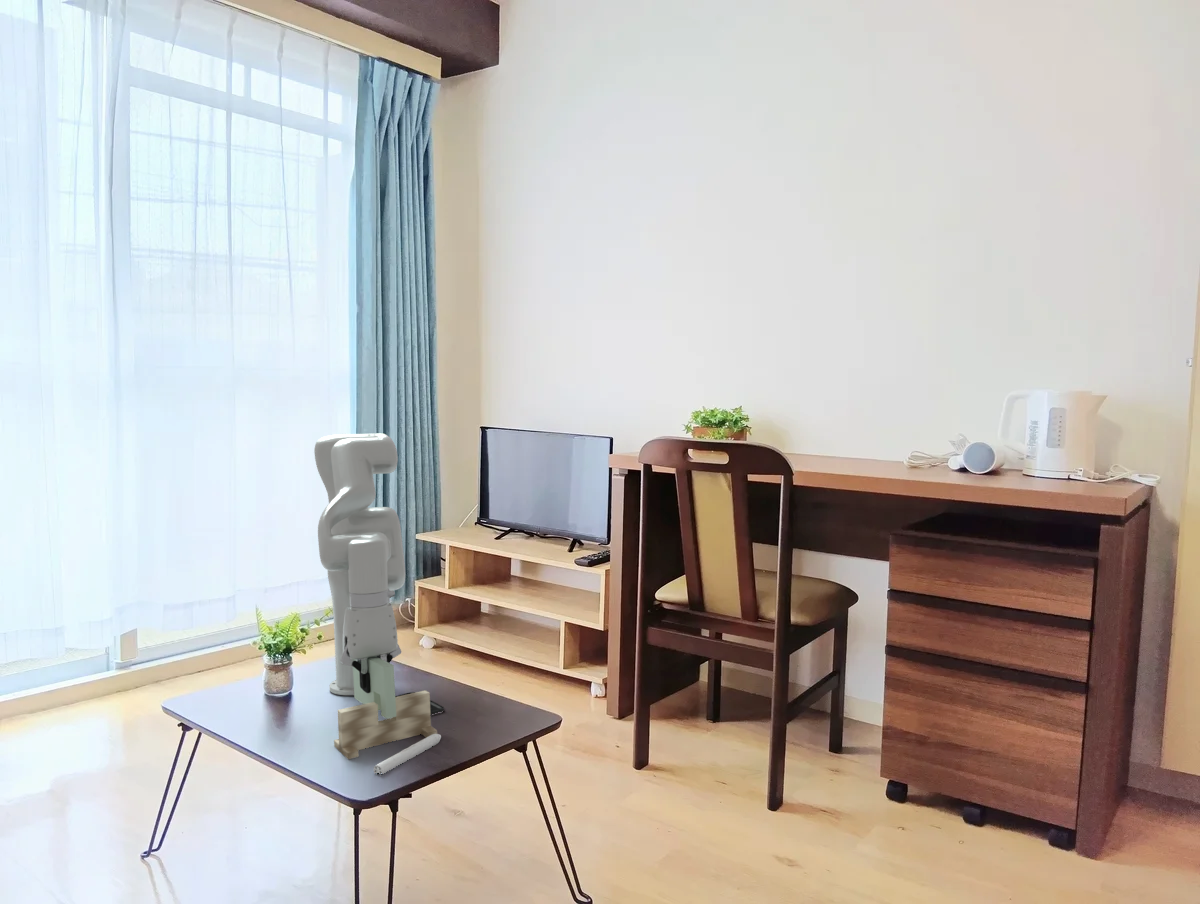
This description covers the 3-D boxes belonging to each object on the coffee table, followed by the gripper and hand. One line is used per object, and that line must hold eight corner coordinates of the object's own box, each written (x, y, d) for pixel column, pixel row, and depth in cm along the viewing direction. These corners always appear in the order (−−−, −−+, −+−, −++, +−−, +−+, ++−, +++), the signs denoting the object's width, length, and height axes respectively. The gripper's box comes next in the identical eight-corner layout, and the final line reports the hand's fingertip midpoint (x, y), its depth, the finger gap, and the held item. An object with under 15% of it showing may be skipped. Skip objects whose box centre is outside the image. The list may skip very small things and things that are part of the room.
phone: (414, 691, 198) (446, 708, 187) (414, 696, 198) (446, 713, 187) (381, 699, 193) (412, 717, 182) (381, 704, 193) (412, 722, 182)
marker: (436, 740, 172) (436, 728, 172) (445, 741, 171) (445, 730, 171) (373, 775, 156) (372, 762, 156) (382, 777, 155) (381, 764, 155)
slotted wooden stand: (348, 759, 162) (346, 717, 162) (334, 746, 169) (332, 705, 168) (437, 736, 173) (435, 696, 172) (421, 724, 179) (419, 686, 179)
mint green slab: (396, 716, 168) (393, 665, 168) (386, 718, 167) (383, 667, 167) (363, 696, 183) (361, 649, 183) (354, 698, 182) (352, 650, 182)
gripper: (399, 591, 182) (403, 677, 183) (323, 602, 173) (327, 693, 174) (413, 596, 176) (417, 686, 177) (336, 608, 167) (340, 703, 168)
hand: (372, 689), depth 175 cm, fingers closed on mint green slab, 2 cm apart
